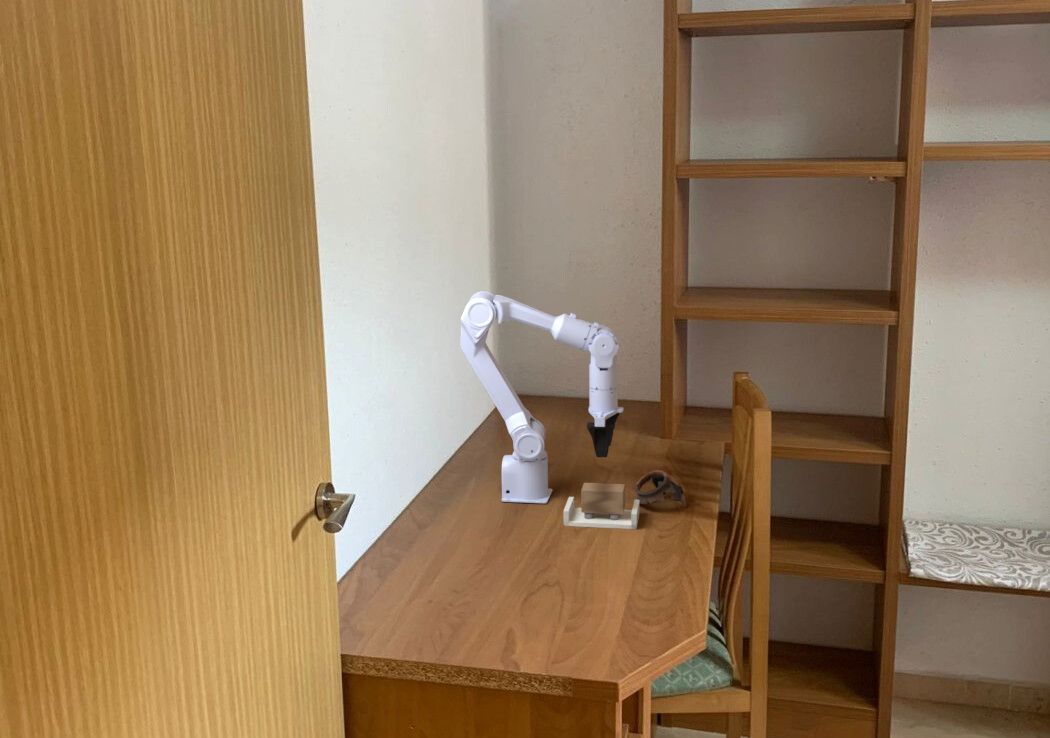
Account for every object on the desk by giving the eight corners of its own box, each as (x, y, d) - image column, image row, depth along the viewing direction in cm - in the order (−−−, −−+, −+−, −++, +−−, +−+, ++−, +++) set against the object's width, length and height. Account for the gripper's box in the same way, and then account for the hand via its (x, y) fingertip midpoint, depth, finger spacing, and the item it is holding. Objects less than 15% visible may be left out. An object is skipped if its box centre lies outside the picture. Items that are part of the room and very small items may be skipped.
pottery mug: (692, 515, 205) (674, 484, 202) (648, 533, 207) (630, 503, 204) (685, 481, 216) (668, 451, 212) (644, 498, 218) (627, 469, 215)
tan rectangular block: (581, 512, 200) (581, 490, 199) (584, 504, 204) (584, 482, 203) (622, 514, 199) (622, 492, 198) (624, 506, 203) (624, 484, 202)
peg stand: (563, 525, 199) (563, 511, 199) (569, 510, 207) (569, 496, 206) (636, 529, 197) (636, 514, 196) (639, 514, 205) (639, 499, 204)
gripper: (620, 396, 202) (620, 462, 205) (626, 378, 216) (626, 441, 219) (584, 395, 203) (584, 461, 206) (592, 378, 217) (592, 440, 220)
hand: (603, 451), depth 212 cm, fingers open, 7 cm apart
